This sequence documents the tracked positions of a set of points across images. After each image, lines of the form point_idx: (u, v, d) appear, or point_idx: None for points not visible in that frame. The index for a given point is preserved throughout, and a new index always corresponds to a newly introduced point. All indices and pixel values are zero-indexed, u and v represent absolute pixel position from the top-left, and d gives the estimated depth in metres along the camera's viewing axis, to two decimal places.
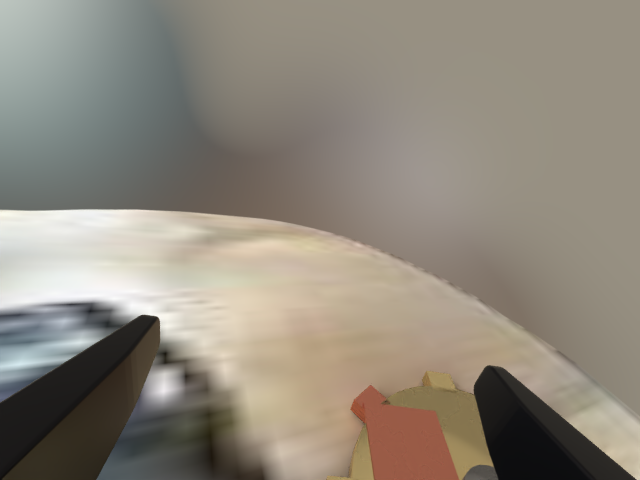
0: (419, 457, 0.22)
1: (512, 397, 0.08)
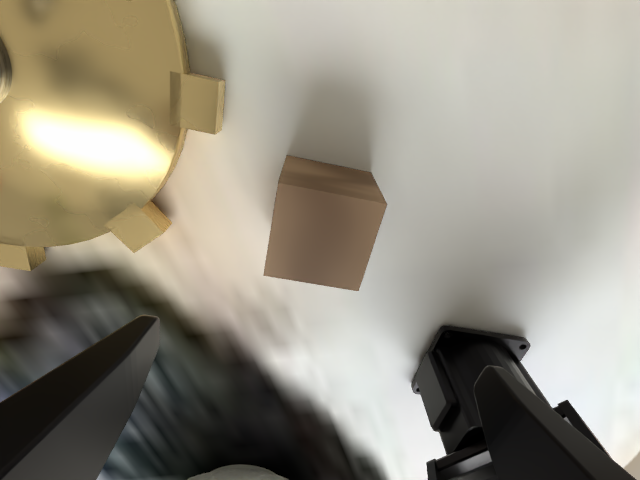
0: None
1: (512, 397, 0.08)
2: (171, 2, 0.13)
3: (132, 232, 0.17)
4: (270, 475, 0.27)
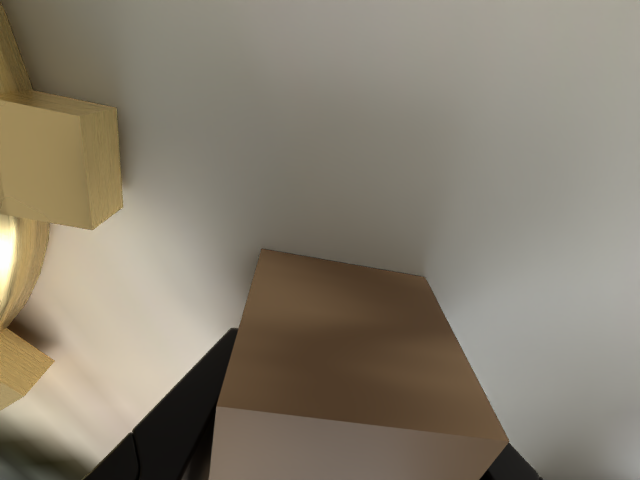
0: None
1: None
2: None
3: None
4: None
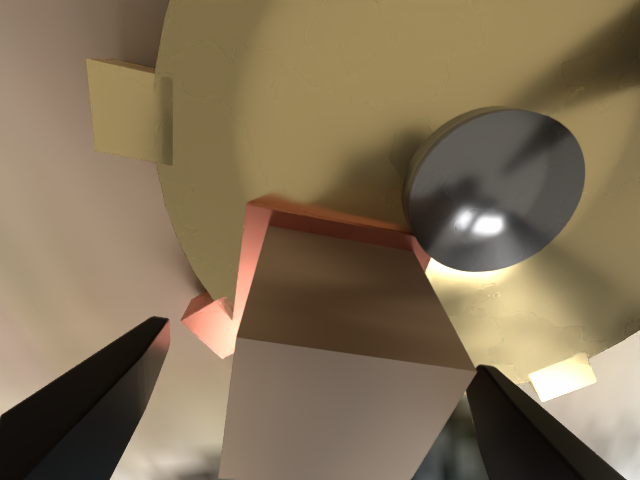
0: None
1: (503, 396, 0.08)
2: None
3: (557, 381, 0.13)
4: None
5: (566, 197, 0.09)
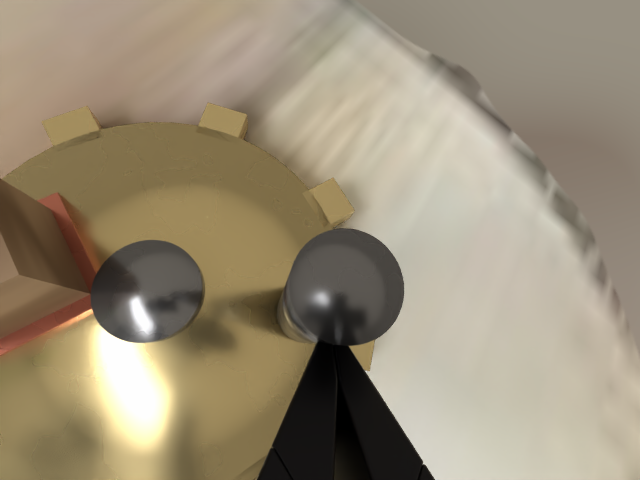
0: None
1: (337, 373, 0.08)
2: None
3: None
4: None
5: (176, 319, 0.14)
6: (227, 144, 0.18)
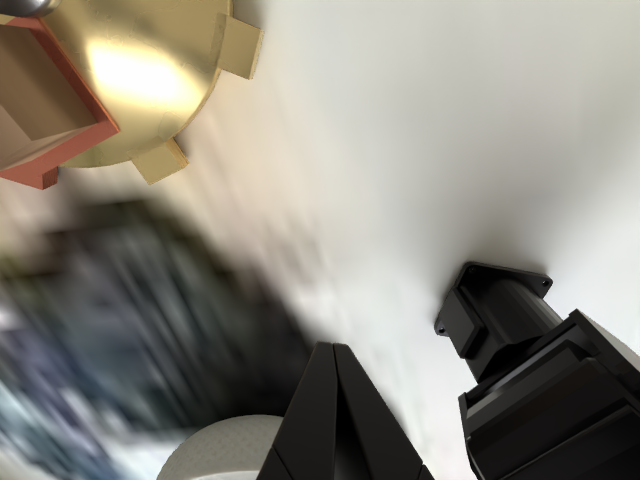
0: None
1: (336, 373, 0.08)
2: None
3: (234, 52, 0.16)
4: None
5: None
6: None
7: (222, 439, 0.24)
